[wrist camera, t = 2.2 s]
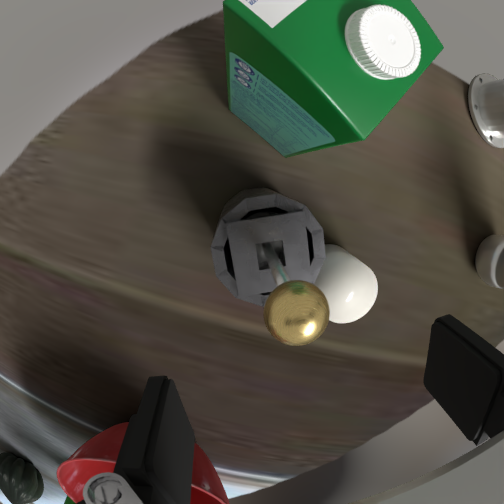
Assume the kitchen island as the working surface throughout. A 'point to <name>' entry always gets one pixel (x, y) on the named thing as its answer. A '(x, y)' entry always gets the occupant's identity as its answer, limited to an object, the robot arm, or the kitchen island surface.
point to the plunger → (291, 299)
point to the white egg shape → (346, 285)
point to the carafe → (261, 231)
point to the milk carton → (321, 66)
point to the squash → (19, 480)
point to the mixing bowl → (104, 459)
